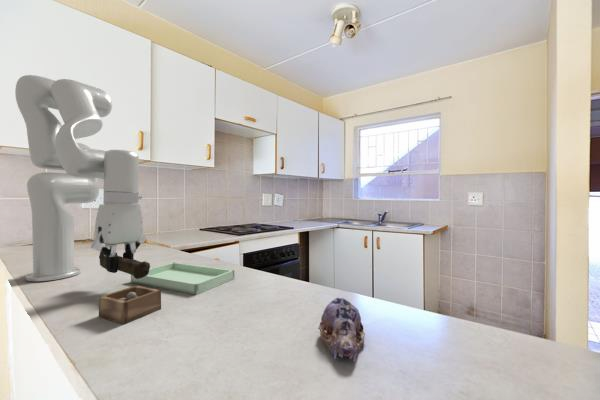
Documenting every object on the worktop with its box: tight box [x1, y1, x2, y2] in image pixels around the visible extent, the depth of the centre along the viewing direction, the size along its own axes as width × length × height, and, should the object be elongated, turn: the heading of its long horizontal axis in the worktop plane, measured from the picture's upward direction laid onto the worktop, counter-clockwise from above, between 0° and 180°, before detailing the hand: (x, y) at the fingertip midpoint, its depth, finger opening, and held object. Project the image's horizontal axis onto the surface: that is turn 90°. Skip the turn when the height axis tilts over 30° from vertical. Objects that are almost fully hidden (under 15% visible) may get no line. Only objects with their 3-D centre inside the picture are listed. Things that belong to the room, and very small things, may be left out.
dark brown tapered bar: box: [98, 251, 151, 279], centre depth 72 cm, size 19×4×5 cm, turn 59°
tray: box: [130, 261, 235, 295], centre depth 81 cm, size 25×15×2 cm, turn 65°
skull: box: [317, 297, 366, 363], centre depth 46 cm, size 12×8×6 cm, turn 169°
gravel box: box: [98, 285, 162, 325], centre depth 58 cm, size 8×8×4 cm
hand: (120, 269), depth 72 cm, fingers closed on dark brown tapered bar, 3 cm apart
